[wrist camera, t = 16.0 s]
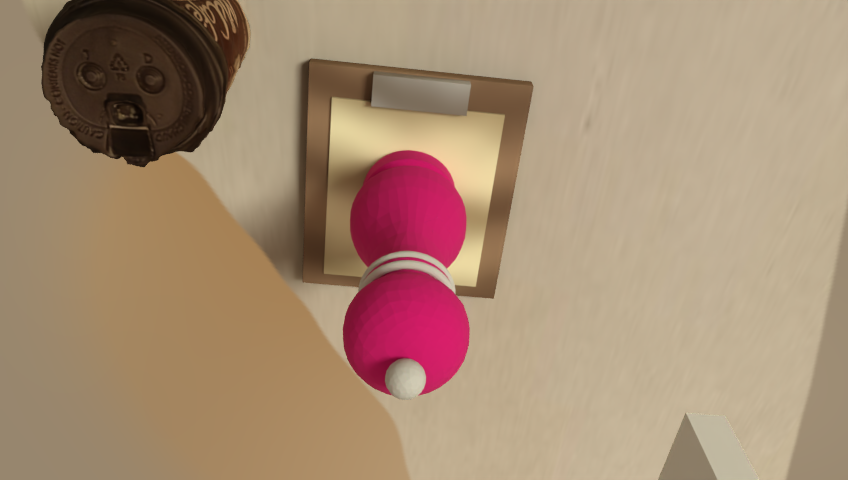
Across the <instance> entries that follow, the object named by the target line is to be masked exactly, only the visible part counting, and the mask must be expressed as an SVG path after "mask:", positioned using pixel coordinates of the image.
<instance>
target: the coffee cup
mask: <svg viewBox="0 0 848 480" xmlns="http://www.w3.org/2000/svg"><path fill="white" fill-rule="evenodd" d="M250 35H251V33H250V26H249V23H248V21H247V18H246V16H245V14H244V12H243V10H242V8H241V6H240V4H239V2H238V1H237V0H71V1H68V2H67V3H66V4H65V6H64V7H63V9H62V10H61V11H60V12H59V13H58V15H57V16H56V18H55V19H54V20H53V22H52V24H51V25H50V27H49V29H48V32H47V34H46V37H45V42H44V55H43V63H42V66H41V68H42V89H43V94H44V97H45V98H46V99H47V100H48V101H49V102H50V103H51V109H52V111H53V112H54V115H55V116H57V117H58V119H59V122H60V125H62V126H63V127H65V128H67V129H69V131H70V133H71V134H72V135H73V136H74V137H75V138H76V139H77V140H78V142H79V143H80V144H82V145H83V146H86V147H87V148H89V149H91V151H92V152H93V153H103V154H105V155H107V156H109V157H110V158H115V159H119V158H120V157H121V156H122V157H124V159H125V160H126V161H127V164H132V165H135V166H140V167H145V166H146V165H147V164H148V163H149V162H150V161H156V160H158V159H159V157H160V156H162V155H165V154H170V153H174V152H177V151H185V152H193V151H194V150H195V149H196V148H198V147H199V145H200V144H201V142H202V140H203V139H204V138H205V137H207V135H208V134H209V132H211V131H212V130H213V128H214V126H215V124H216V123H217V121H218V120H219V118H220V116H221V114H222V110H223V107H224V104H225V97H226V93H227V91H228V90H229V88H230V87H231V85H232V83H233V81H234V78H235V76H236V73H237V71H238V69H239V68H240V66H241V63H242V61H243V60H244V58H245V54H246V52H247V50H248V49H249V47H250Z"/></svg>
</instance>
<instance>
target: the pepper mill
mask: <svg viewBox="0 0 848 480" xmlns="http://www.w3.org/2000/svg"><path fill="white" fill-rule="evenodd" d="M466 222H467V216H466V210H465V206H464V203H463V200H462V198H461V196H460V195H459V193H458V191H457V190H456V188H455V185H454V181H453V178H452V176H451V174H450V172H449V171H448V169H447V168H446V167H445V166H444V165H443V164H442V163H441V162H440V161H439V160H438V159H436V158H434V157H433V156H431V155H429V154H426V153H423V152H419V151H413V150H403V151H398V152H394V153H391V154H389V155H386V156H385V157H383V158H381V159H380V160H378V161H377V162H376V163H375V164H374V165H373V166H372V167H371V169H370V170H369V172H368V173H367V175H366V177H365V180H364V182H363V186H362V187H361V189H360V190H359V192H358V193H357V195H356V197H355V199H354V201H353V204H352V208H351V213H350V233H351V238H352V241H353V244H354V247H355V249H356V251H357V253H358V255H359V257H360V258H361V260H362V261H363V262H364V264H365V265H366V266H367V267H368V268H367V269H366V271H365V272H364V274H363V276H362V278H361V280H360V284H359V292H358V293H357V294H356V296H355V297H354V299H353V300H352V302H351V303H350V305H349V307H348V310H347V312H346V315H345V320H344V326H343V341H344V349H345V352H346V356H347V359H348V361H349V363H350V365H351V366H352V368H353V369H354V371H355V372H356V373H357V375H358V376H359V377H361V378H362V379H363V380H364V381H365V382H366V383H367V384H368V385H370V386H371V387H373V388H375V389H377V390H379V391H381V392H384V393H386V394H389V395H393V396H394V397H396V398H398V399H402V400H409V399H412V398H415V397H416V396H419V395H422V394H426V393H429V392H431V391H433V390H435V389H438V388H439V387H441V386H442V385H443V384H445V383H446V382H447V381H449V380H450V379H451V378H452V377H453V376H454V375H455V373H456V372H457V371H458V369H459V368H460V366H461V365H462V363H463V362H464V359H465V356H466V353H467V349H468V346H469V330H470V328H469V322H468V318H467V314H466V311H465V308H464V305H463V304H462V303H461V301H460V300H459V299H458V297H457V296H456V295H455V284H454V281H453V278H452V276H451V274H450V272H449V271H448V270H447V268H448V267H449V266H450V265H451V264H452V263H453V262H454V261H455V259H456V258H457V256H458V254H459V252H460V250H461V248H462V245H463V243H464V240H465V235H466Z"/></svg>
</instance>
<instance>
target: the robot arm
mask: <svg viewBox="0 0 848 480" xmlns="http://www.w3.org/2000/svg"><path fill="white" fill-rule="evenodd" d="M658 480H760V479H759V478H758V476H757V474H756V472H755V470H754V468H753V466H752V465H751V463H750V461H749V459H748V457H747V455H746V453H745V452H744V450H743V448H742V446H741V444H740V442H739V440H738V439H737V437H736V435H735V433H734V431H733V429H732V427H731V426H730V424H729V422H728V420H727V418H726V416H724V415H710V414H697V413H685V416H684V418H683V421H682V423H681V426H680V428H679V430H678V433H677V435H676V438H675V440H674V443H673V445H672V447H671V450H670V452H669V455H668V457H667V460H666V462H665V464H664V467H663V469H662V472H661V474H660V477H659V479H658Z"/></svg>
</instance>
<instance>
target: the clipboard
mask: <svg viewBox="0 0 848 480" xmlns="http://www.w3.org/2000/svg"><path fill="white" fill-rule="evenodd" d="M532 91H533V84H532V82H529V81H519V80H510V79H500V78H491V77H481V76H472V75H462V74H453V73H444V72H434V71H425V70H415V69H406V68H396V67H387V66H377V65H368V64H358V63H349V62H339V61H330V60H320V59H311V60H310V62H309V89H308V122H307V155H306V189H305V222H304V255H303V282H307V283H318V284H330V285H342V286H353V287H359V284H360V280H361V278H362V276H363V274H364V272H365V271H366V269H367V268H368V267H367V266H366V265H365V264H364V262H363V261H362V260H361V258H360V257H359V255H358V253H357V251H356V249H355V247H354V244H353V241H352V238H351V233H350V213H351V208H352V204H353V201H354V199H355V197H356V195H357V193H358V192H359V190H360V189H361V187H362V186H363V182H364V180H365V177H366V175H367V173H368V172H369V170H370V169H371V167H372V166H373V165H374V164H375V163H376V162H377V161H378V160H380V159H381V158H383V157H385V156H386V155H389V154H391V153H394V152H398V151H403V150H413V151H419V152H423V153H426V154H429V155H431V156H433V157H434V158H436V159H438V160H439V161H440V162H441V163H442V164H443V165H444V166H445V167H446V168H447V169H448V171H449V172H450V174H451V176H452V178H453V181H454V185H455V188H456V190H457V191H458V193H459V195H460V196H461V198H462V200H463V203H464V206H465V210H466V216H467V222H466V235H465V240H464V243H463V245H462V248H461V250H460V252H459V254H458V256H457V258H456V259H455V261H454V262H453V263H452V264H451V265H450V266H449V267H448V268H447V270H448V271H449V272H450V274H451V276H452V278H453V281H454V284H455V295H458V296H470V297H482V298H494V294H495V289H496V283H497V278H498V273H499V267H500V262H501V257H502V251H503V246H504V241H505V235H506V230H507V225H508V219H509V214H510V209H511V203H512V198H513V193H514V187H515V182H516V177H517V171H518V166H519V161H520V155H521V150H522V145H523V139H524V134H525V129H526V123H527V118H528V113H529V107H530V102H531V97H532Z"/></svg>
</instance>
